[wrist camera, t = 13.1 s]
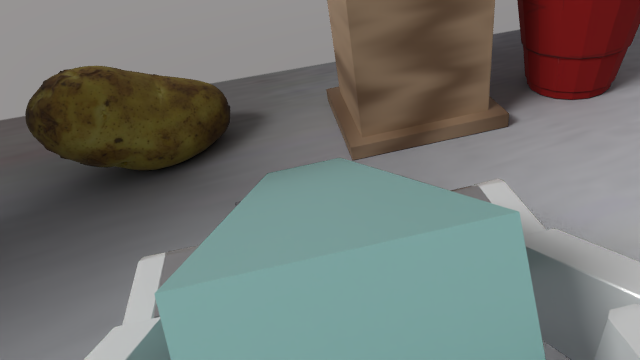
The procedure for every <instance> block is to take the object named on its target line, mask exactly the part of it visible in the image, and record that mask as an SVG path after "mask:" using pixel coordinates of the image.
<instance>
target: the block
mask: <svg viewBox="0 0 640 360" xmlns="http://www.w3.org/2000/svg"><path fill="white" fill-rule="evenodd" d="M154 295H155V299H156V303H157V307H158V311H159V314H160V318H161V322H162V326H163V330H164V334H165V338H166V342H167V346H168V350H169V354H170V358H171V360H546V359H545V353H544V348H543V342H542V336H541V331H540V325H539V319H538V314H537V308H536V302H535V297H534V291H533V286H532V280H531V274H530V269H529V263H528V257H527V252H526V246H525V240H524V235H523V229H522V224H521V218H520V212H519V211H515V210H512V209H509V208H505V207H502V206H499V205H495V204H492V203H489V202H486V201H482V200H479V199H476V198H472V197H469V196H466V195H462V194H459V193H456V192H452V191H449V190H446V189H442V188H439V187H436V186H432V185H429V184H426V183H422V182H419V181H416V180H413V179H409V178H406V177H403V176H399V175H396V174H393V173H389V172H386V171H383V170H379V169H376V168H373V167H369V166H366V165H363V164H359V163H356V162H353V161H349V160H346V159H343V158H336V159H332V160H327V161H322V162H318V163H313V164H308V165H304V166H299V167H295V168H290V169H285V170H281V171H276V172H272V173H267V174H266V175H265V177H264V178H263V179H262V180H261V181H260V182H259V183H258V184H257V185H256V186H255V187H254V188H253V189H252V190H251V191H250V192H249V194H248V195H247V196H246V197H245V198H244V199H243V200H242V201H241V202H240V203H239V204H238V205H237V206H236V207H235V208H234V209H233V211H232V212H231V213H230V214H229V215H228V216H227V217H226V218H225V219H224V220H223V221H222V222H221V223H220V224H219V225H218V226H217V228H216V229H215V230H214V231H213V232H212V233H211V234H210V235H209V236H208V237H207V238H206V239H205V240H204V241H203V242H202V243H201V245H200V246H199V247H198V248H197V249H196V250H195V251H194V252H193V253H192V254H191V255H190V256H189V257H188V258H187V259H186V260H185V262H184V263H183V264H182V265H181V266H180V267H179V268H178V269H177V270H176V271H175V272H174V273H173V274H172V275H171V276H170V277H169V279H168V280H167V281H166V282H165V283H164V284H163V285H162V286H161V287H160V288H159V289H158V290H157V291H156V292H155V293H154Z"/></svg>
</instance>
